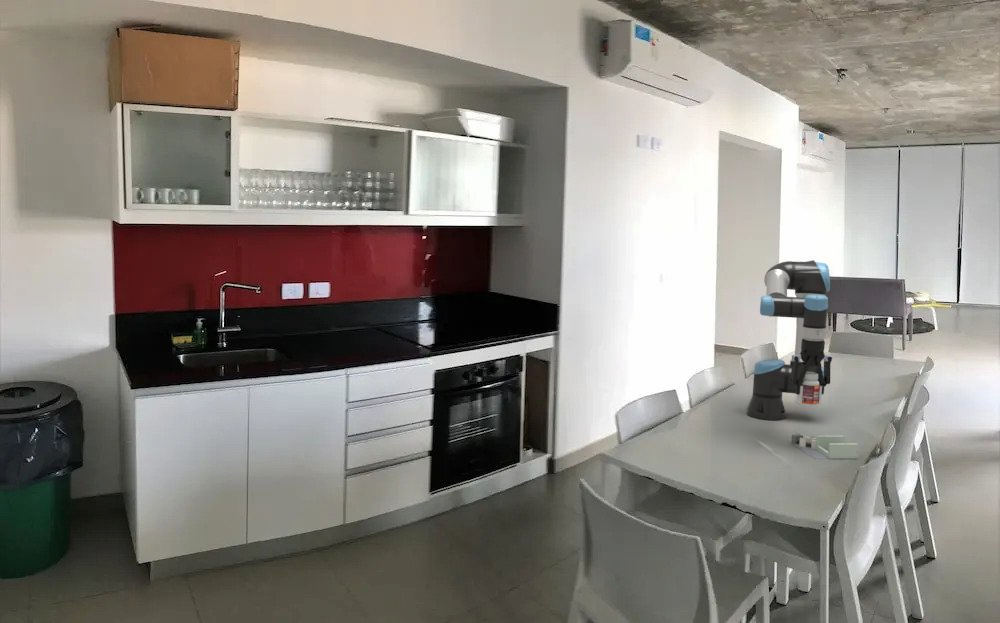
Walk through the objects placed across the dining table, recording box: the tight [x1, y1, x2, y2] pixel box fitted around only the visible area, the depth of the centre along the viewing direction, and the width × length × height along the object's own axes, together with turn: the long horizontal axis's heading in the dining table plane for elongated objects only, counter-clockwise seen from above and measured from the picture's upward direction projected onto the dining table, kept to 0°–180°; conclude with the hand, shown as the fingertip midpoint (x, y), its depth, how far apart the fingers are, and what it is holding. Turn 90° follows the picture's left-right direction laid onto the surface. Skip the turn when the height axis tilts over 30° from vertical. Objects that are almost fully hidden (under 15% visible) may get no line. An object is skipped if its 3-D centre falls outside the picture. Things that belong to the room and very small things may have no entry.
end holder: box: [815, 435, 859, 460], centre depth 253 cm, size 10×10×5 cm
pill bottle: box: [801, 372, 819, 407], centre depth 259 cm, size 6×6×11 cm
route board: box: [791, 433, 858, 460], centre depth 258 cm, size 19×15×4 cm
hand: (808, 403), depth 259 cm, fingers closed on pill bottle, 6 cm apart
